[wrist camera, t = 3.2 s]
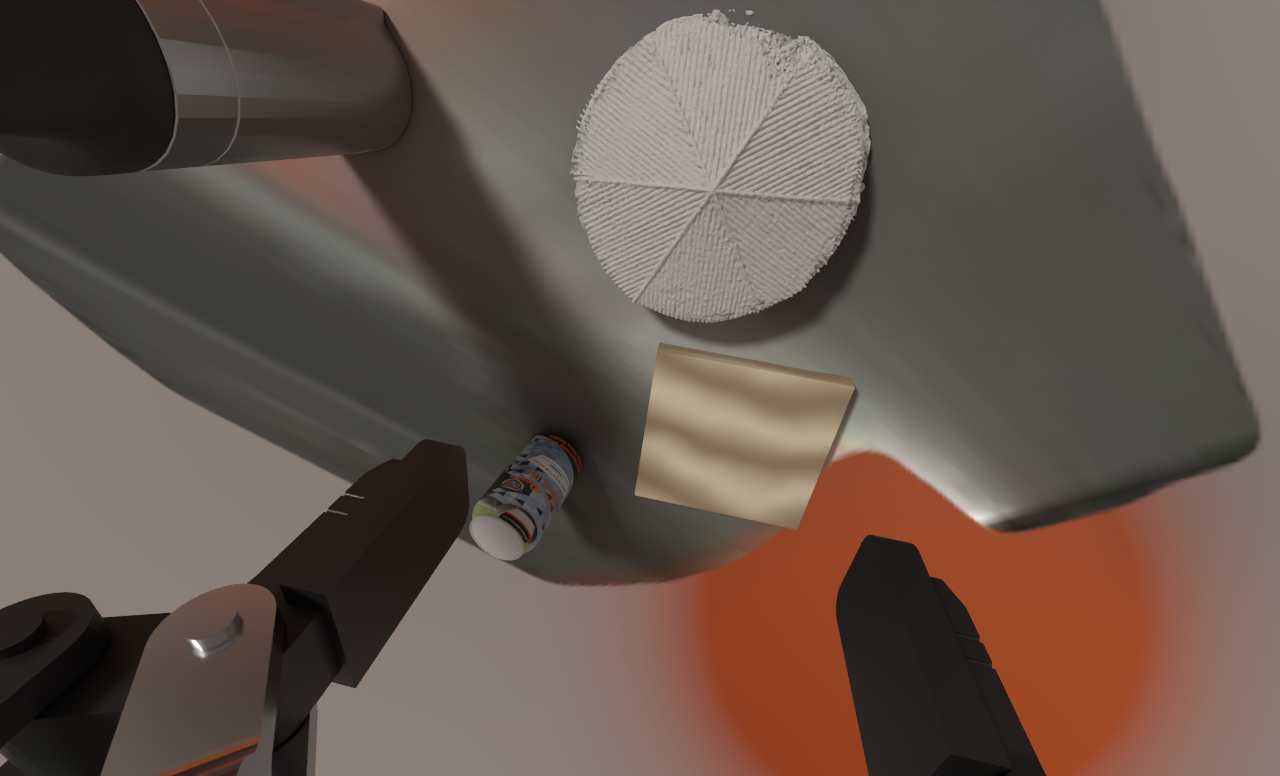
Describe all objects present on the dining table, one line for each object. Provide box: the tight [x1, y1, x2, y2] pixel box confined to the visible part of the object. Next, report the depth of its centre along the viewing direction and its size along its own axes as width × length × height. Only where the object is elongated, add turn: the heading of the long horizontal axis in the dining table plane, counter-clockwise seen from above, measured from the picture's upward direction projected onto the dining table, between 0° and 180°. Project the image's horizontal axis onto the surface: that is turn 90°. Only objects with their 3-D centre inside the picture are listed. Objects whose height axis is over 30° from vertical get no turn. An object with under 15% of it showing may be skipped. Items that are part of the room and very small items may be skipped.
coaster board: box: [635, 343, 855, 530], centre depth 43 cm, size 16×16×2 cm
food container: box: [570, 9, 871, 323], centre depth 32 cm, size 20×20×7 cm
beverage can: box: [470, 432, 583, 560], centre depth 43 cm, size 6×7×12 cm
